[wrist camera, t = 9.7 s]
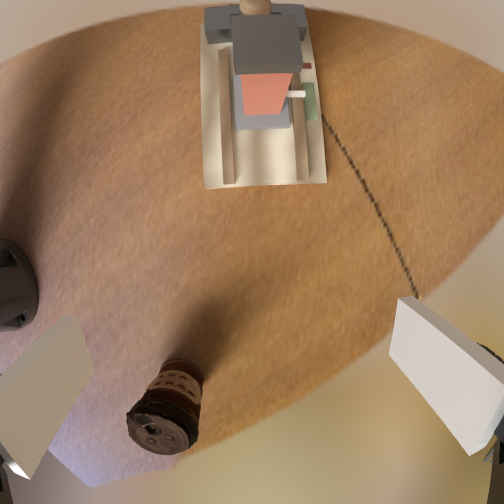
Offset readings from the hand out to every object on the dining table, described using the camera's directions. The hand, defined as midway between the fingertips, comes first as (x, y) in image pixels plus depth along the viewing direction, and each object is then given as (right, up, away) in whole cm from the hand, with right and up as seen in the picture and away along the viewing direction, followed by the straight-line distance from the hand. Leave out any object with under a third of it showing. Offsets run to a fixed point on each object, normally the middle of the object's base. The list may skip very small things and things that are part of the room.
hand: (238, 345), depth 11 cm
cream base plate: (+1, +23, +22) cm, 31 cm away
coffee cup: (-10, -14, +28) cm, 33 cm away
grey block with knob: (+1, +32, +19) cm, 37 cm away
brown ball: (+1, +31, +15) cm, 35 cm away
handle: (+2, +21, +20) cm, 29 cm away
